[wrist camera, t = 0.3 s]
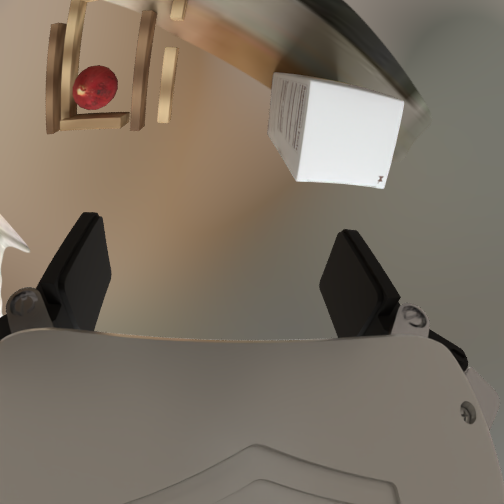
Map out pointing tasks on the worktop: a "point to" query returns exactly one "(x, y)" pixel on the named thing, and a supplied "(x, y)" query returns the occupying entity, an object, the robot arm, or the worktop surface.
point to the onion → (95, 87)
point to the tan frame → (70, 73)
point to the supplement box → (333, 130)
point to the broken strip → (170, 68)
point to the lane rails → (138, 81)
